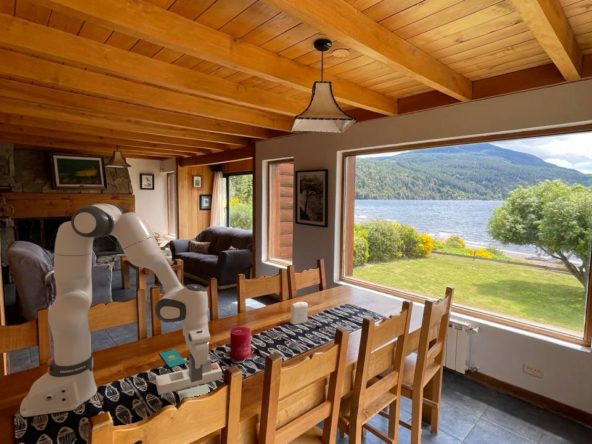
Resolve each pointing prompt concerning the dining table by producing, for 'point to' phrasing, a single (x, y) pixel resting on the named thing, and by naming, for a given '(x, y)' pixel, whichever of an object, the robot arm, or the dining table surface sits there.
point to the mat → (193, 391)
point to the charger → (194, 370)
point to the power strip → (187, 378)
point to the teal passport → (172, 358)
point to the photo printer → (299, 313)
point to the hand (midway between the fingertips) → (195, 364)
